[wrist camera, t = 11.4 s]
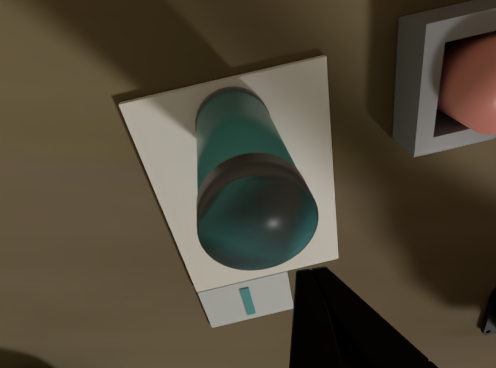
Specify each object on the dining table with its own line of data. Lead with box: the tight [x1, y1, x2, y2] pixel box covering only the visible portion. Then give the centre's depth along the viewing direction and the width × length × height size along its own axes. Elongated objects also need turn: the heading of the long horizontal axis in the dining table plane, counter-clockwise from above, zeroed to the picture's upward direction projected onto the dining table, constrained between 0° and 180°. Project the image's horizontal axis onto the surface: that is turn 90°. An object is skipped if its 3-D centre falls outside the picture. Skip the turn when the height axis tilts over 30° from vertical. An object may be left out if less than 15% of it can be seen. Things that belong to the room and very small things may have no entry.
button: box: [437, 32, 496, 135], centre depth 17 cm, size 4×4×3 cm
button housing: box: [392, 0, 496, 157], centre depth 18 cm, size 7×7×2 cm
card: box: [198, 271, 293, 328], centre depth 27 cm, size 4×7×1 cm, turn 101°
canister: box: [195, 87, 319, 271], centre depth 15 cm, size 4×4×9 cm
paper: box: [119, 55, 338, 292], centre depth 22 cm, size 15×11×1 cm
